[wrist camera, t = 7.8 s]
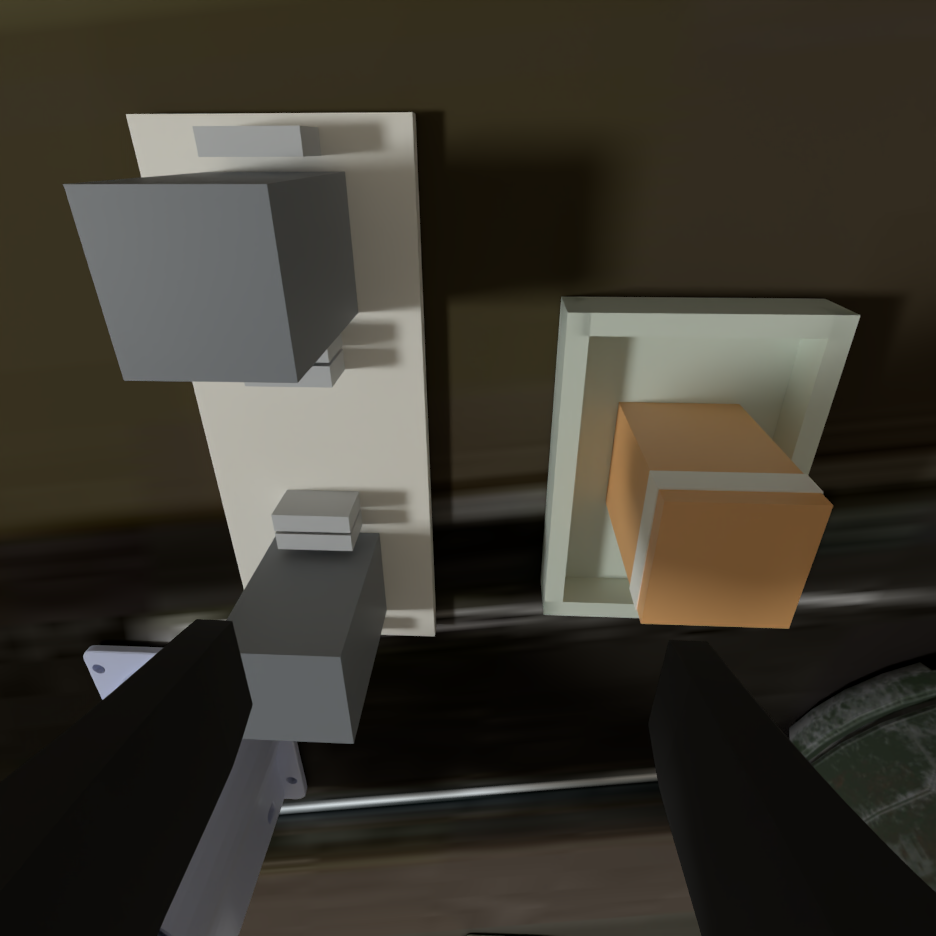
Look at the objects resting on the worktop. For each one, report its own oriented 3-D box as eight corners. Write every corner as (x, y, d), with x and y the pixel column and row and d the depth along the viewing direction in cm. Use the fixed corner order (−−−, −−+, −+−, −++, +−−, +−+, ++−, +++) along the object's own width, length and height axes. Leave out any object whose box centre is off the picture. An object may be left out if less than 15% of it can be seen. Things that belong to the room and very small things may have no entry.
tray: (741, 586, 21) (760, 621, 19) (540, 580, 21) (543, 614, 20) (825, 298, 16) (860, 315, 14) (561, 296, 16) (567, 312, 15)
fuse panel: (436, 624, 22) (416, 773, 17) (259, 619, 23) (186, 763, 18) (415, 113, 14) (364, 93, 9) (139, 115, 15) (-69, 97, 9)
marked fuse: (715, 505, 19) (790, 629, 14) (604, 502, 19) (639, 624, 14) (740, 403, 17) (835, 504, 12) (617, 401, 17) (663, 500, 12)
